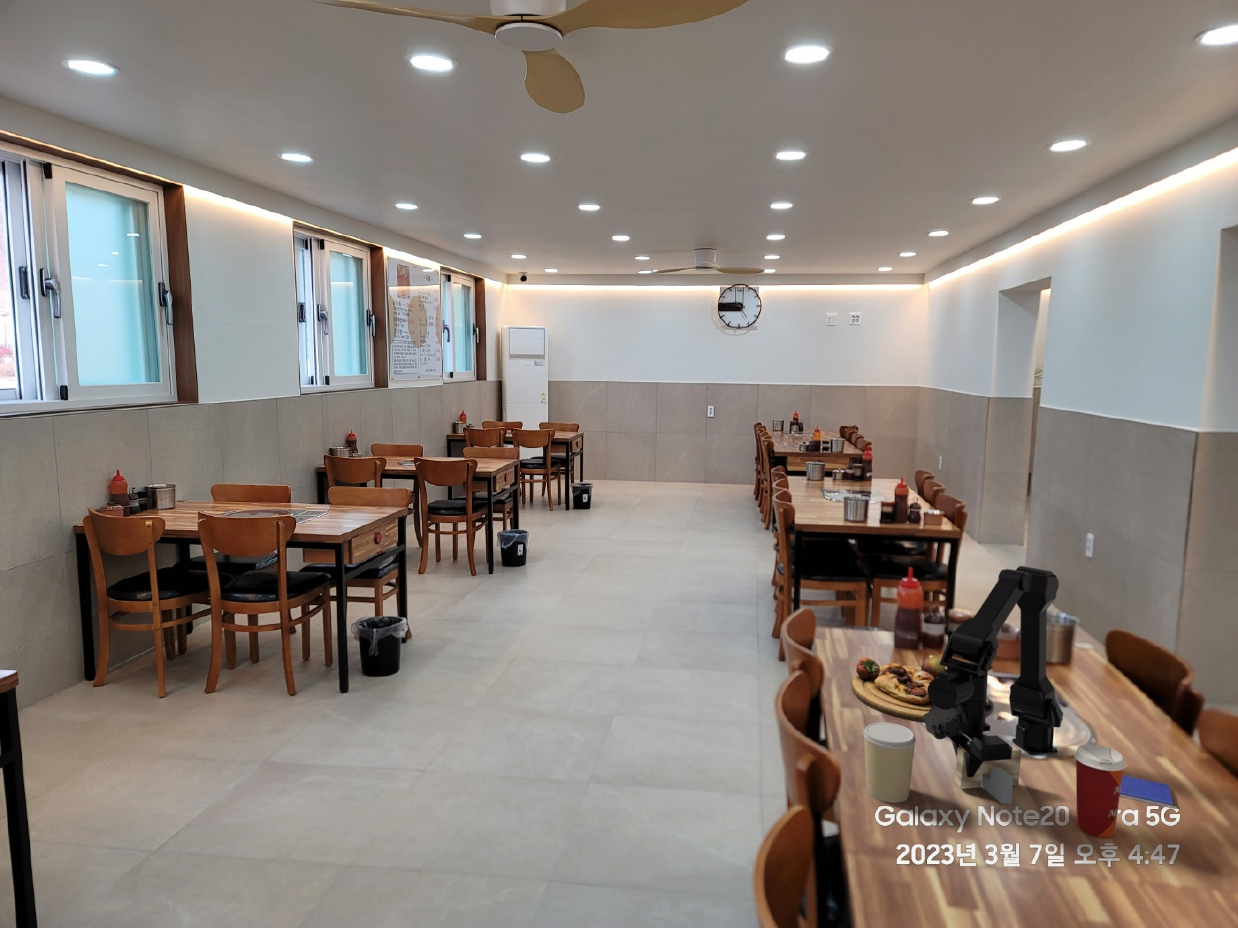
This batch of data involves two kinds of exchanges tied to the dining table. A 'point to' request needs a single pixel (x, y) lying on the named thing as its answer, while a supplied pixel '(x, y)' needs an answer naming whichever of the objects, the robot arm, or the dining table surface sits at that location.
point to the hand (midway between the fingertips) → (966, 773)
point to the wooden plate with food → (896, 687)
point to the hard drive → (1146, 791)
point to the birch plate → (987, 768)
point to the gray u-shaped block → (998, 785)
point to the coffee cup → (888, 761)
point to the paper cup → (1098, 789)
